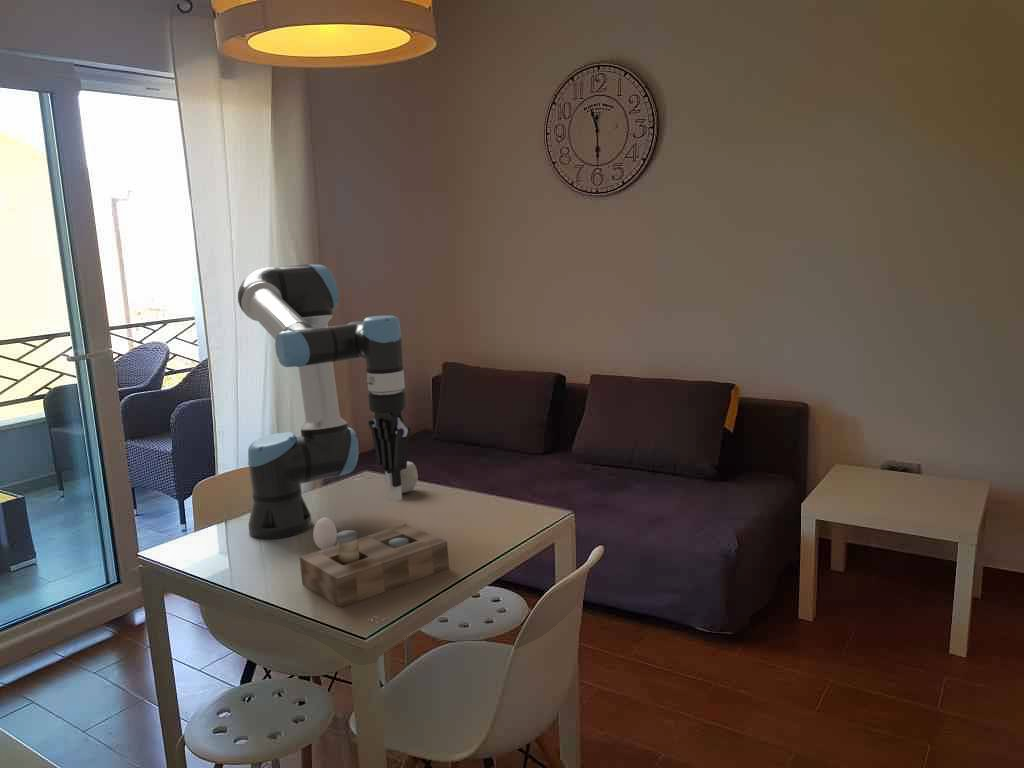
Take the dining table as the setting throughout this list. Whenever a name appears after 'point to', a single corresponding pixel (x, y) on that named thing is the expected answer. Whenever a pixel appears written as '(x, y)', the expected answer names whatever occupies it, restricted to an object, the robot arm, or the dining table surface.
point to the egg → (324, 533)
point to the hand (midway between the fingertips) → (394, 499)
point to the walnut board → (374, 565)
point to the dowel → (347, 547)
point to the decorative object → (408, 477)
